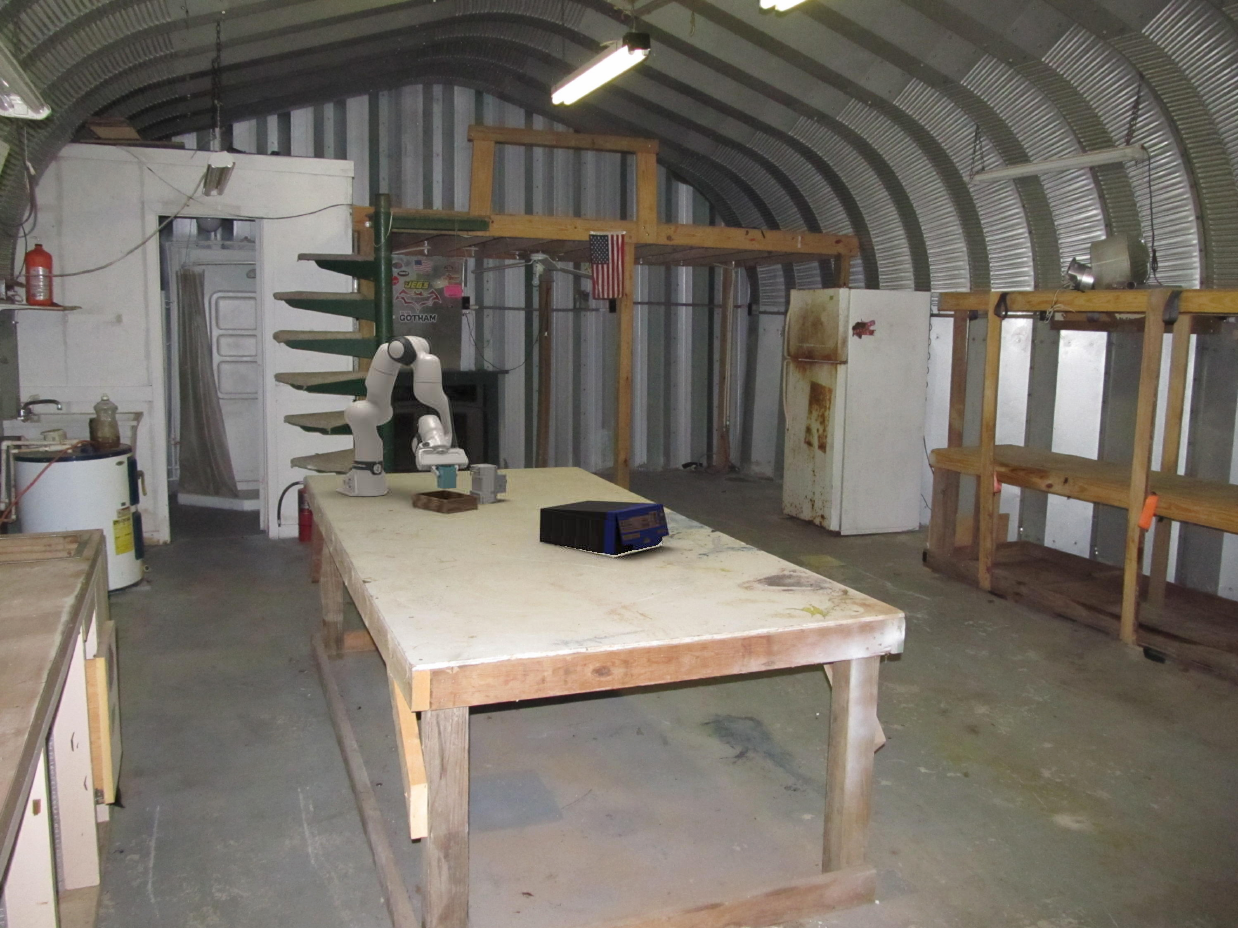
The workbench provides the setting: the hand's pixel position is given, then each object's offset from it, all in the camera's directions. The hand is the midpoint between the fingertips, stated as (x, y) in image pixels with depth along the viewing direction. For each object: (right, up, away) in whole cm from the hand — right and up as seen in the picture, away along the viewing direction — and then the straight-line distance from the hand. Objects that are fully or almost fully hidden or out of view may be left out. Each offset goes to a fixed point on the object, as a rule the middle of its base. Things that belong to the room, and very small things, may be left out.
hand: (447, 476), depth 360 cm
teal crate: (0, -4, +1) cm, 4 cm away
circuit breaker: (+13, -11, +20) cm, 26 cm away
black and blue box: (+61, -22, -54) cm, 85 cm away
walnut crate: (-1, -12, +3) cm, 13 cm away
